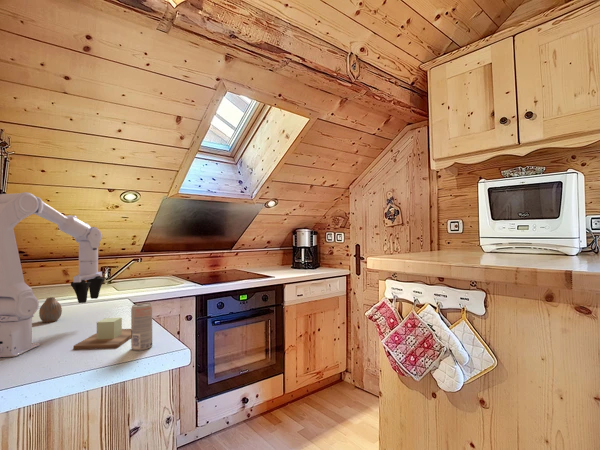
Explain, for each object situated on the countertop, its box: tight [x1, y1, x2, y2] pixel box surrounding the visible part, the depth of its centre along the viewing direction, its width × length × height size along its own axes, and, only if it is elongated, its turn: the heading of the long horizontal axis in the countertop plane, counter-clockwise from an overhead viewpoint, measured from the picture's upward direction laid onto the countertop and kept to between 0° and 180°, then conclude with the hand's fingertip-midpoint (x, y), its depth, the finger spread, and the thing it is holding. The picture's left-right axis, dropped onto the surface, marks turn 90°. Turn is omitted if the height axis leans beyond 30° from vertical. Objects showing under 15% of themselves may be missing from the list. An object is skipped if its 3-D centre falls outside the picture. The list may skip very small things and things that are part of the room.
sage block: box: [96, 317, 123, 339], centre depth 103 cm, size 5×5×5 cm
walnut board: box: [72, 328, 131, 350], centre depth 103 cm, size 16×12×1 cm
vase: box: [38, 296, 63, 323], centre depth 127 cm, size 7×7×9 cm
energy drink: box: [130, 302, 153, 352], centre depth 95 cm, size 5×5×12 cm
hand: (88, 300), depth 117 cm, fingers open, 7 cm apart
